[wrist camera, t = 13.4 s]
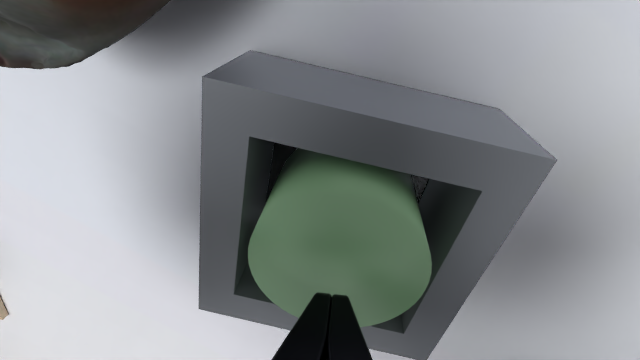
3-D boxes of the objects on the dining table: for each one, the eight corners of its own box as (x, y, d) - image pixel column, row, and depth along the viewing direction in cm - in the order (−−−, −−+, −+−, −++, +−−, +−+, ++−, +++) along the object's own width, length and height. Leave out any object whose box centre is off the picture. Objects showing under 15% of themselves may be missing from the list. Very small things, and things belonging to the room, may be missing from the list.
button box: (412, 282, 16) (425, 361, 13) (233, 240, 16) (198, 308, 13) (499, 109, 12) (557, 160, 8) (250, 50, 12) (202, 76, 8)
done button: (388, 259, 15) (396, 342, 11) (269, 231, 15) (241, 306, 11) (434, 152, 12) (464, 218, 8) (288, 117, 12) (257, 170, 8)
